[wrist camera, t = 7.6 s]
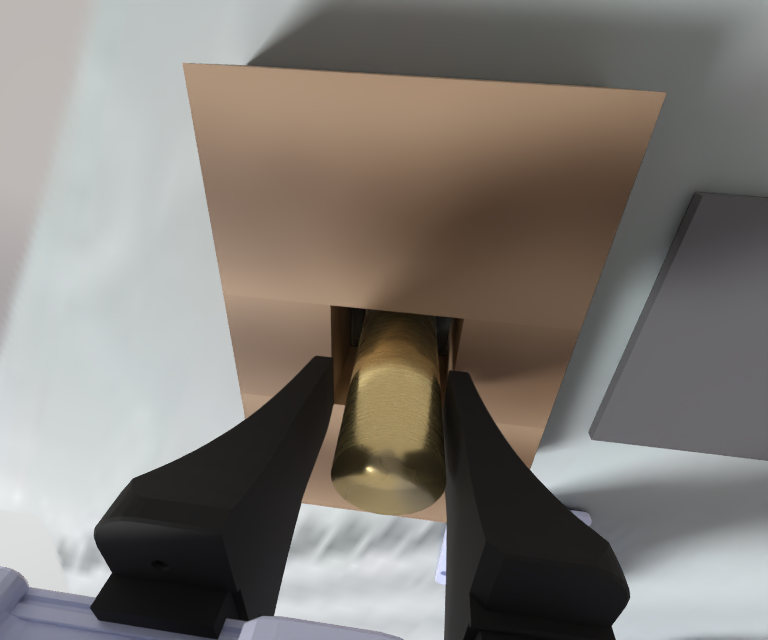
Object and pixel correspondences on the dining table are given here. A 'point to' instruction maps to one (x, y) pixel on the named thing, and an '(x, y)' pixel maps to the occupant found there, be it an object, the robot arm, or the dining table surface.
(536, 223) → the walnut block
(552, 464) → the dining table surface
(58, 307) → the dining table surface
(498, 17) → the dining table surface
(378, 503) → the brass pin
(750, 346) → the rubber mat
